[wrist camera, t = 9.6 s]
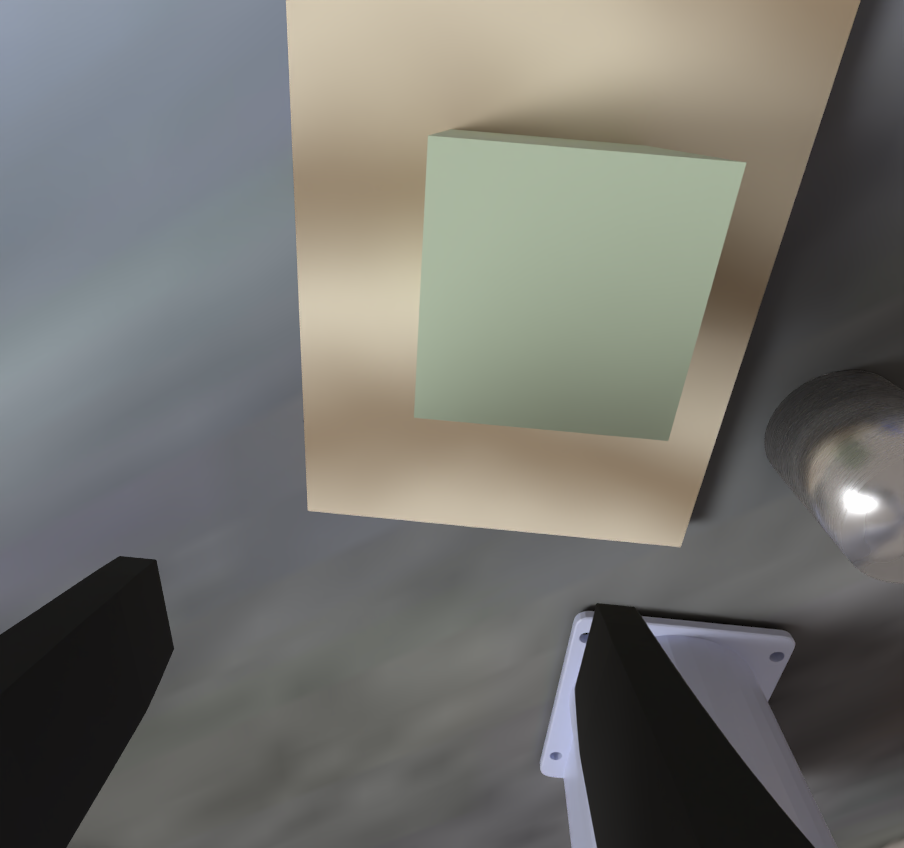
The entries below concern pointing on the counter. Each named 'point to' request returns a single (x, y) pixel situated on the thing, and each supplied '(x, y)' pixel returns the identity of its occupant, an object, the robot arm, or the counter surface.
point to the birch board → (545, 115)
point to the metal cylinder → (847, 464)
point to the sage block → (565, 280)
